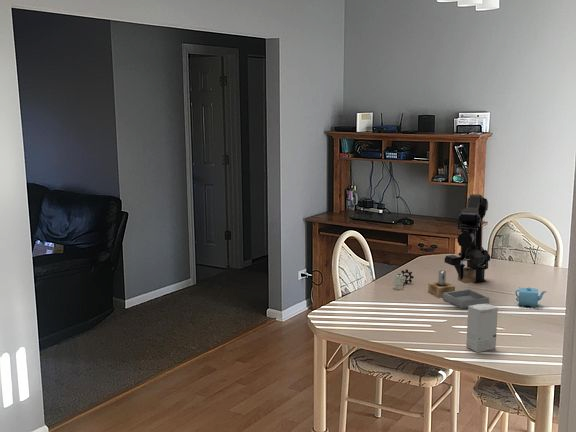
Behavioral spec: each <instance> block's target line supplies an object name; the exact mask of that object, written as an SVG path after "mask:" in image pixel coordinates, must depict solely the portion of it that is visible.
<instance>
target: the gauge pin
mask: <svg viewBox="0 0 576 432" xmlns="http://www.w3.org/2000/svg"><path fill="white" fill-rule="evenodd" d="M446 276H447V271H446V270H444V269H443V270H438V276H437V277H438V279H437V282H438V286H440V287H442V286H445V282H447V281H446V278H447V277H446Z"/></svg>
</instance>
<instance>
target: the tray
mask: <svg viewBox="0 0 576 432" xmlns="http://www.w3.org/2000/svg"><path fill="white" fill-rule="evenodd" d="M442 300H443V301H445V302H447V303H449V304H450V305H452V306H454V307H457V308H459V309H461V310H466V309H468V306H471V305H476V304H486V303H487V304H490V298H489V297H488V296H486V295H483V294H482V293H478V292H476V291H474V290H472V289H470V288H467V289H460V290H455V291H452V292H445V293H443V297H442Z"/></svg>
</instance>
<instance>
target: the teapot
mask: <svg viewBox="0 0 576 432" xmlns="http://www.w3.org/2000/svg"><path fill="white" fill-rule="evenodd" d="M518 288H519V289H517V290H516V291H515V292H514V293H515V296H516V297H515V298H516V301H517V302H518V305H519V306H521V307H522V308H525V307H526V306H527V307H528V306H529V307H530V308H532V309H534V307H538V303H539V301H540V300H542V298H543V295H544V294H545V293H547V292H548V291H546V290H543V291H541V292H540V294H539V289H538V288H532V287H530V286H529V287H528V286H527V287H518ZM517 292H518V293H517Z"/></svg>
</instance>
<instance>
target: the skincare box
mask: <svg viewBox="0 0 576 432" xmlns="http://www.w3.org/2000/svg"><path fill="white" fill-rule="evenodd" d="M498 312H499V308H498V307H497V306H496V305H492V304H490V303H489V304H487V303H486V304H476V305H471V306H468V308H467V323H466V324H467V325H466V326H467V327H466V343H465V346H466V347H467V348H468V349H470V350H471V351H473V352H475V353H481V352H486V351H490V350H491V351H492V350H495V349H496V346H497V333H498V332H497V330H498V329H497V328H498Z"/></svg>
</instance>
